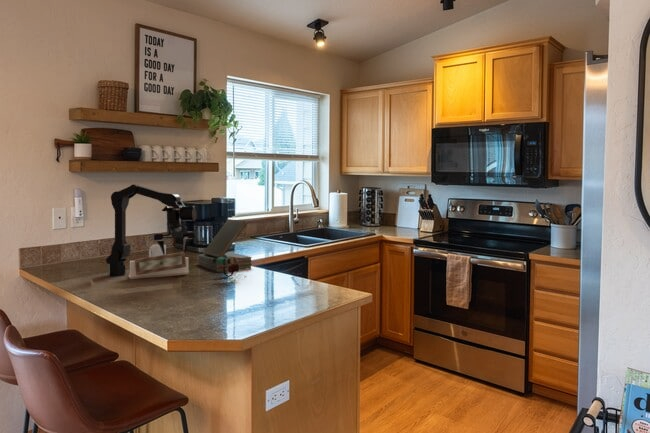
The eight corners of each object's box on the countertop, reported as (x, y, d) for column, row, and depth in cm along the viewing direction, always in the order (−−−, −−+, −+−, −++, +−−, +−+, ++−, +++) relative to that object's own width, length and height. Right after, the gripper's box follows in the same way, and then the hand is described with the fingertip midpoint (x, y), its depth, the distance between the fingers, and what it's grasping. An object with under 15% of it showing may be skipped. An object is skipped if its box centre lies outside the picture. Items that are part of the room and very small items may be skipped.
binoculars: (221, 274, 230) (221, 253, 229) (240, 275, 227) (240, 254, 226) (211, 277, 221) (211, 255, 221) (231, 278, 218) (231, 256, 218)
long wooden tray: (130, 279, 215) (130, 261, 214) (128, 277, 220) (128, 259, 220) (188, 274, 228) (188, 257, 228) (185, 272, 233) (185, 256, 233)
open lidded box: (198, 266, 255) (198, 219, 254) (232, 263, 267) (232, 218, 265) (216, 272, 237) (216, 222, 235) (251, 268, 248) (251, 220, 247)
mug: (168, 267, 248) (168, 244, 248) (159, 269, 242) (159, 245, 242) (154, 266, 253) (153, 243, 252) (144, 268, 246) (144, 244, 246)
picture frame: (137, 275, 214) (135, 259, 213) (136, 274, 215) (134, 259, 215) (186, 267, 225) (184, 252, 224) (185, 266, 227) (183, 251, 226)
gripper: (156, 222, 210) (157, 257, 211) (198, 220, 220) (199, 254, 221) (151, 221, 220) (152, 255, 221) (191, 219, 229) (192, 251, 230)
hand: (174, 254), depth 223 cm, fingers open, 9 cm apart
